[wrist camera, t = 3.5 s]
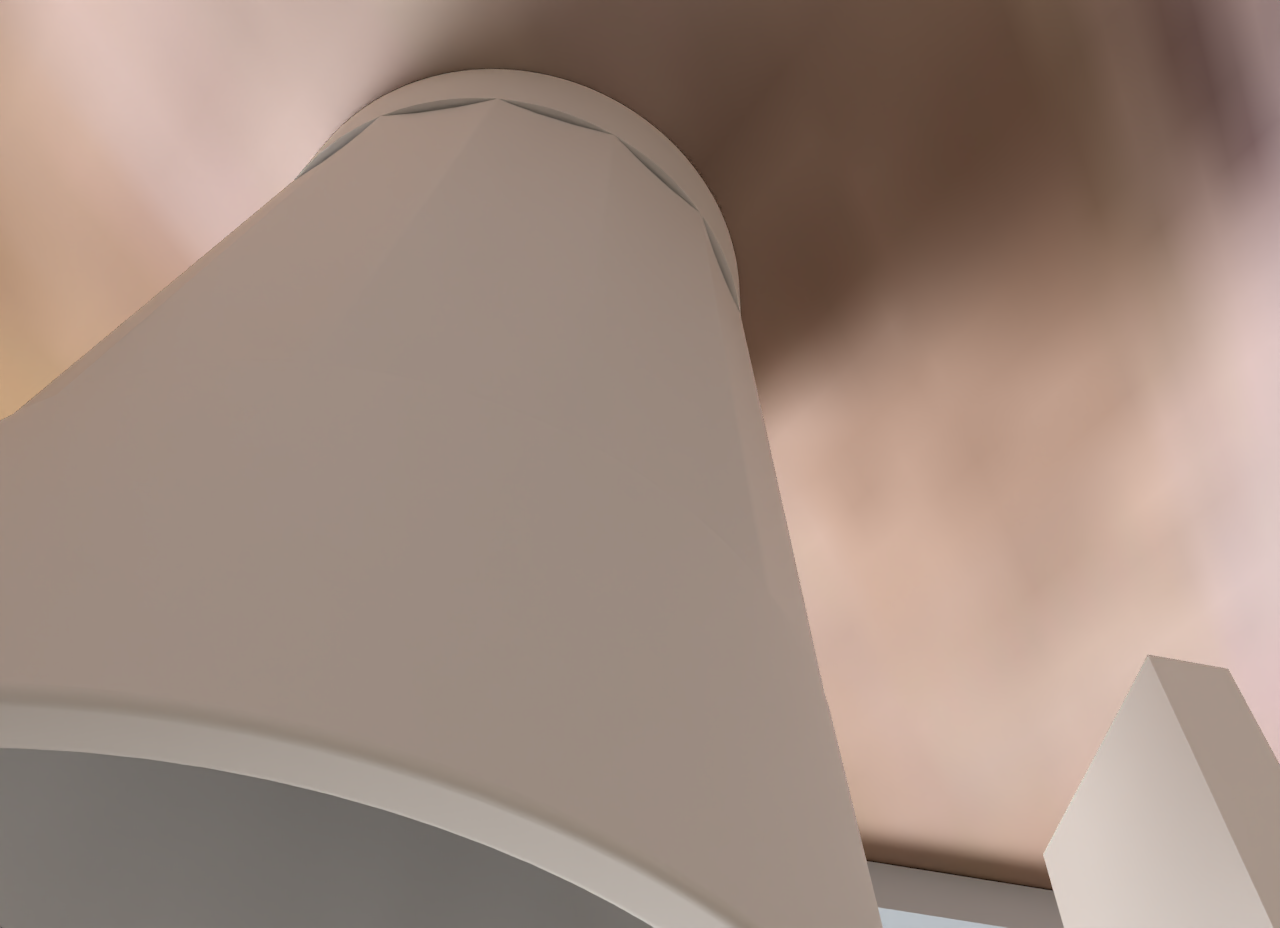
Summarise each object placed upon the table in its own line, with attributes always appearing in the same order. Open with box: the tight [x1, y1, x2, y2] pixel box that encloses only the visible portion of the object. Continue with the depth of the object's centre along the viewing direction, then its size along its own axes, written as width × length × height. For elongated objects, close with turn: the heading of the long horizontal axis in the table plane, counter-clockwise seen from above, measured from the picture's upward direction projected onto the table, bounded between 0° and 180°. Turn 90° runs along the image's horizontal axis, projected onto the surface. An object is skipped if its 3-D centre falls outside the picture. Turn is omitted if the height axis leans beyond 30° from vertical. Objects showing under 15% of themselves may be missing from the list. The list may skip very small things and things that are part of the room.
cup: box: [0, 69, 883, 928], centre depth 12 cm, size 8×8×12 cm
